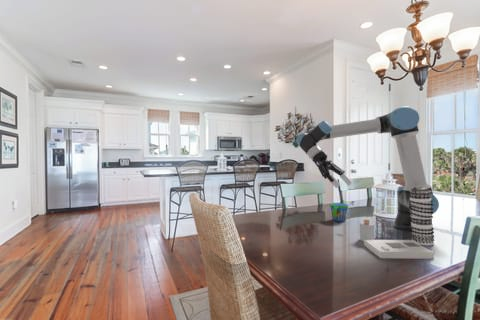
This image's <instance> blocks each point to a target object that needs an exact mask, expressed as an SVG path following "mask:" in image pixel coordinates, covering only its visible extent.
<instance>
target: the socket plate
mask: <svg viewBox="0 0 480 320" xmlns="http://www.w3.org/2000/svg"><path fill="white" fill-rule="evenodd" d="M363 246H364V247H366V248H367V249H368V250H369V251H371V252H372V253H374V254H375V255H376V256H377V257H378V258H379V259H413V260H414V259H421V260H423V259H424V260H425V259H429V260H431V259H435V252H434V251H432V250H430V249H428V248H426V247H425V246H424V245H419V244H417V243H415V242H413V241H412V240H411V239H374V240H364V242H363Z"/></svg>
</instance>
